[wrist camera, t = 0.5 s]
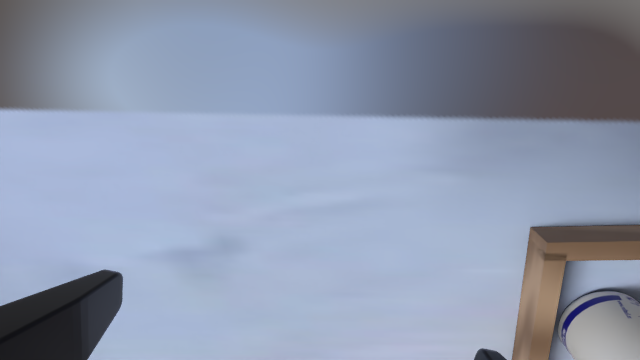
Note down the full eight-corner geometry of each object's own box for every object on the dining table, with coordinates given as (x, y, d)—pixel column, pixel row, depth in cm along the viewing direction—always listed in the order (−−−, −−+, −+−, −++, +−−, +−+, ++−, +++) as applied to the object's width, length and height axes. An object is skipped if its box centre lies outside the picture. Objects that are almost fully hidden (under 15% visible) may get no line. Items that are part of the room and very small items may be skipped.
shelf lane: (653, 405, 26) (677, 432, 24) (505, 403, 27) (517, 428, 25) (711, 223, 22) (746, 239, 20) (530, 227, 23) (547, 242, 21)
